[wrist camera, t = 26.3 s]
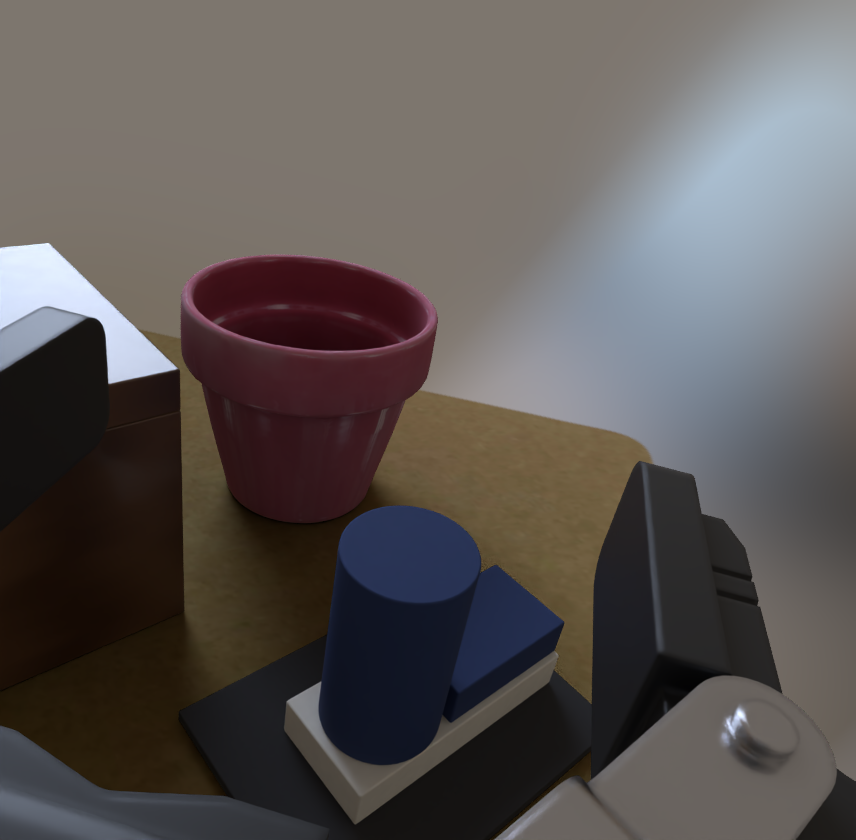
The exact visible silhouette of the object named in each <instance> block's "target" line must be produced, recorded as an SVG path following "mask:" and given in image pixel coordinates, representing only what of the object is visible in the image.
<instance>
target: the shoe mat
mask: <svg viewBox="0 0 856 840" xmlns="http://www.w3.org/2000/svg"><path fill="white" fill-rule="evenodd" d="M326 641H327V635H325V636H323V637H321V638H319V639H317V640H316V641H314V642H312V643H310V644H308V645H306V646H304V647H302V648H300V649H298V650H296V651H294V652H292V653H290V654H289V655H287V656H285V657H283V658H281V659H279V660H277V661H275V662H273V663H271V664H269V665H267V666H265V667H263V668H261V669H260V670H258V671H256V672H254V673H252V674H250V675H248V676H246V677H244V678H242V679H240V680H238V681H236V682H234V683H233V684H231V685H229V686H227V687H225V688H223V689H221V690H219V691H217V692H215V693H213V694H211V695H209V696H207V697H206V698H204V699H202V700H200V701H198V702H196V703H194V704H192V705H190V706H188V707H186V708H184V709H182V710H180V711H179V721H180V722H181V724H182V725H183V727H184V729H185V730H186V732H187V733H188V735H189V736H190V738H191V740H192V741H193V743H194V744H195V746H196V748H197V749H198V751H199V752H200V754H201V755H202V757H203V759H204V760H205V762H206V763H207V765H208V766H209V768H210V770H211V771H212V773H213V774H214V776H215V777H216V779H217V781H218V782H219V784H220V785H221V787H222V788H223V790H224V792H225V793H226V795H227V796H228V797H230V798H233V799H236V800H239V801H242V802H246V803H249V804H252V805H255V806H258V807H262V808H265V809H268V810H271V811H274V812H278V813H281V814H284V815H287V816H290V817H294V818H297V819H300V820H303V821H306V822H309V823H313V824H316V825H319V826H322V827H325V828H329V829H330V830H329V836H328V840H489V839H490V838H491V837H492V836H494V835H495V834H496V833H497V832H498V831H499V830H500V829H502V828H503V827H504V826H505V825H506V824H507V823H509V822H510V821H511V820H512V819H513V818H514V817H515V816H517V815H518V814H519V813H520V812H521V811H522V810H523V809H525V808H526V807H527V806H528V805H529V804H530V803H531V802H533V801H534V800H535V799H536V798H537V797H538V796H540V795H541V794H542V793H543V792H544V791H545V790H546V789H548V788H549V787H550V786H551V785H552V784H553V783H554V782H556V781H557V780H558V779H559V778H560V777H561V776H562V775H564V774H565V773H566V772H567V771H568V770H569V769H570V768H572V767H573V766H574V765H575V764H576V763H577V762H579V761H580V760H581V759H582V758H583V757H584V756H585V755H587V754H588V753H589V752H590V751H591V730H592V704H591V703H589V702H588V701H587V700H586V699H585V698H584V697H583V696H582V695H581V694H579V693H578V692H577V691H576V690H575V689H574V688H573V687H572V686H571V685H570V684H568V683H567V682H566V681H565V680H564V679H563V678H562V677H561V676H560V675H558V674H557V673H556V672H555V671H554V670H553V673H552V675H551V678H550V681H549V683H547V684H546V685H545V686H543V687H542V688H540V689H539V690H538V691H536V692H535V693H534V694H532V695H531V696H530V697H528V698H527V699H526V700H524V701H523V702H521V703H520V704H519V705H517V706H516V707H515V708H513V709H512V710H511V711H509V712H508V713H507V714H505V715H504V716H502V717H501V718H500V719H498V720H497V721H496V722H494V723H493V724H492V725H490V726H489V727H488V728H486V729H485V730H483V731H482V732H481V733H479V734H478V735H477V736H475V737H474V738H473V739H471V740H470V741H469V742H467V743H466V744H464V745H463V746H462V747H460V748H459V749H458V750H456V751H455V752H454V753H452V754H451V755H450V756H448V757H447V758H446V759H444V760H443V761H441V762H440V763H439V764H437V765H436V766H435V767H433V768H432V769H431V770H429V771H428V772H427V773H425V774H424V775H422V776H421V777H420V778H418V779H417V780H416V781H414V782H413V783H412V784H410V785H409V786H408V787H406V788H405V789H403V790H402V791H401V792H399V793H398V794H397V795H395V796H394V797H393V798H391V799H390V800H389V801H387V802H386V803H384V804H383V805H382V806H380V807H379V808H378V809H376V810H375V811H374V812H372V813H371V814H370V815H368V816H367V817H365V818H364V819H363V820H361V821H360V822H359V823H357V824H354V823H353V822H352V820H351V819H350V818H349V816H348V815H347V814H346V812H345V811H344V810H343V808H342V807H341V806H340V804H339V803H338V802H337V800H336V799H335V798H334V796H333V795H332V794H331V792H330V791H329V790H328V788H327V787H326V785H325V784H324V783H323V781H322V780H321V779H320V777H319V776H318V775H317V773H316V772H315V771H314V769H313V768H312V767H311V765H310V764H309V763H308V761H307V760H306V759H305V757H304V756H303V755H302V753H301V752H300V751H299V749H298V748H297V747H296V745H295V744H294V743H293V741H292V740H291V739H290V737H289V736H288V735H287V733H286V732H285V730H284V725H285V714H286V703H287V701H288V700H289V699H291V698H293V697H295V696H296V695H298V694H300V693H302V692H304V691H305V690H307V689H309V688H311V687H312V686H314V685H316V684H318V683H319V682H321V681H322V673H323V665H324V657H325V649H326Z"/></svg>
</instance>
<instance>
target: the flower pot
mask: <svg viewBox="0 0 856 840" xmlns="http://www.w3.org/2000/svg"><path fill="white" fill-rule="evenodd" d="M437 323H438V317H437V312H436V310H435V307H434V306H433V304H432V303H431V302H430V301H429V299H428V298H427V297H426V296H424V294H422V293H421V292H419V291H418V290H417V289H416V288H414V287H412V286H411V285H409V284H407V283H405V282H404V281H402V280H400V279H398V278H395V277H393V276H391V275H388V274H386V273H383V272H380V271H378V270H375V269H371V268H368V267H365V266H361V265H357V264H353V263H349V262H345V261H339V260H334V259H328V258H321V257H312V256H301V255H260V256H248V257H241V258H236V259H230V260H226V261H223V262H219V263H216V264H213V265H211V266H209V267H207V268H205V269H202V270H201V271H199V272H198V273H196V274H195V275H193V276H192V277H191V278H190V279H189V280H188V282H187V283H186V284H185V286H184V288H183V291H182V294H181V349H182V356H183V359H184V362H185V364H186V366H187V368H188V369H189V371H190V372H191V373H192V375H193V376H194V377H195V378H196V379H197V380H199V381H200V382H201V383H202V387H203V392H204V396H205V401H206V405H207V409H208V413H209V417H210V421H211V425H212V429H213V433H214V436H215V440H216V444H217V447H218V451H219V455H220V458H221V462H222V465H223V469H224V473H225V476H226V481H227V484H228V487H229V489H230V491H231V493H232V494H233V496H234V497H235V498H236V499H237V500H238V501H239V502H240V503H241V504H242V505H243V506H245V507H246V508H248V509H249V510H251V511H253V512H255V513H257V514H259V515H261V516H264V517H267V518H271V519H274V520H278V521H284V522H291V523H315V522H321V521H327V520H330V519H334V518H337V517H340V516H342V515H344V514H346V513H348V512H350V511H351V510H352V509H354V508H355V507H356V506H357V505H358V504H360V502H361V501H362V500H363V499H364V497H365V496H366V493H367V491H368V489H369V486H370V484H371V481H372V479H373V477H374V474H375V472H376V470H377V467H378V465H379V463H380V461H381V458H382V456H383V454H384V451H385V449H386V447H387V444H388V442H389V440H390V437H391V435H392V433H393V430H394V428H395V425H396V423H397V420H398V418H399V415H400V413H401V410H402V408H403V405H404V403H405V400H406V399H408V398H409V397H411V396H412V395H414V394H415V393H416V392H417V391H418V390H419V389H420V388H421V387H422V385H423V384H424V382H425V380H426V378H427V375H428V372H429V367H430V363H431V358H432V353H433V346H434V341H435V336H436V329H437Z"/></svg>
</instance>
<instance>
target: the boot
mask: <svg viewBox="0 0 856 840" xmlns="http://www.w3.org/2000/svg"><path fill="white" fill-rule="evenodd" d="M480 571H481V557H480V553H479V550H478V547H477V545H476V543H475V542H474V540H473V539H472V537H471V536H470V535H469V534H468V533H467V532H466V531H465V530H464V529H463V528H462V527H461V526H460V525H458V524H457V523H456V522H454V521H452V520H451V519H449V518H447V517H445V516H443V515H441V514H439V513H436V512H434V511H430V510H427V509H423V508H418V507H412V506H387V507H381V508H377V509H373V510H370V511H368V512H365V513H363V514H361V515H360V516H358V517H357V518H355V519H354V520H353V521H352V522H350V523H349V525H348V526H347V527H346V528H345V530H344V531H343V533H342V535H341V538H340V540H339V547H338V555H337V563H336V571H335V578H334V586H333V594H332V602H331V610H330V618H329V626H328V634H327V641H326V649H325V657H324V665H323V673H322V681H321V682H319V683H318V684H316V685H314V686H312V687H311V688H309V689H307V690H305V691H304V692H302V693H300V694H298V695H296V696H295V697H293V698H291V699H289V700H288V701H287V703H286V714H285V725H284V730H285V732H286V733H287V735H288V736H289V737H290V739H291V740H292V741H293V743H294V744H295V745H296V747H297V748H298V749H299V751H300V752H301V753H302V755H303V756H304V757H305V759H306V760H307V761H308V763H309V764H310V765H311V767H312V768H313V769H314V771H315V772H316V773H317V775H318V776H319V777H320V779H321V780H322V781H323V783H324V784H325V785H326V787H327V788H328V790H329V791H330V792H331V794H332V795H333V796H334V798H335V799H336V800H337V802H338V803H339V804H340V806H341V807H342V808H343V810H344V811H345V812H346V814H347V815H348V816H349V818H350V819H351V820H352V822H353V823H354V824H357V823H359V822H360V821H361V820H363V819H364V818H365V817H367V816H368V815H370V814H371V813H372V812H374V811H375V810H376V809H378V808H379V807H380V806H382V805H383V804H384V803H386V802H387V801H389V800H390V799H391V798H393V797H394V796H395V795H397V794H398V793H399V792H401V791H402V790H403V789H405V788H406V787H408V786H409V785H410V784H412V783H413V782H414V781H416V780H417V779H418V778H420V777H421V776H422V775H424V774H425V773H427V772H428V771H429V770H431V769H432V768H433V767H435V766H436V765H437V764H439V763H440V762H441V761H443V760H444V759H446V758H447V757H448V756H450V755H451V754H452V753H454V752H455V751H456V750H458V749H459V748H460V747H462V746H463V745H464V744H466V743H467V742H469V741H470V740H471V739H473V738H474V737H475V736H477V735H478V734H479V733H481V732H482V731H483V730H485V729H486V728H488V727H489V726H490V725H492V724H493V723H494V722H496V721H497V720H498V719H500V718H501V717H502V716H504V715H505V714H507V713H508V712H509V711H511V710H512V709H513V708H515V707H516V706H517V705H519V704H520V703H521V702H523V701H524V700H526V699H527V698H528V697H530V696H531V695H532V694H534V693H535V692H536V691H538V690H539V689H540V688H542V687H543V686H545V685H546V684H547V683H549V681H550V678H551V675H552V673H553V670H554V667H555V665H556V662H557V659H558V657H559V656H558V654H557V653H555V652H554V650H555V648H556V645H557V642H558V639H559V637H560V634H561V631H562V628H563V626H564V621H562V620H561V619H560V618H559V617H558V616H556V615H555V614H554V613H553V612H552V611H550V610H549V609H548V608H547V607H546V606H545V605H543V604H542V603H541V602H540V601H539V600H537V599H536V598H535V597H534V596H533V595H532V594H530V593H529V592H528V591H527V590H526V589H524V588H523V587H522V586H521V585H520V584H518V583H517V582H516V581H515V580H514V579H513V578H511V577H510V576H509V575H508V574H507V573H505V572H504V571H503V570H502V569H501V568H499V567H498V566H497V565H494V566H492V567H490V568H489V569H487V570H485V571H483V572H481V573H480Z"/></svg>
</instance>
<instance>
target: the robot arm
mask: <svg viewBox="0 0 856 840" xmlns="http://www.w3.org/2000/svg"><path fill="white" fill-rule="evenodd" d="M109 415H110V401H109V383H108V366H107V349H106V335H105V330H104V327H103V325H102V323H101V322H100V321H99V320H98V319H96V318H93V317H89V316H85V315H81V314H77V313H74V312H70V311H66V310H62V309H58V308H54V307H50V306H44V307H40V308H38V309H36V310H35V311H33V312H31V313H29V314H27V315H25V316H24V317H22V318H20V319H18V320H16V321H15V322H13V323H11V324H9V325H7V326H5V327H4V328H2V329H0V532H1V531H2V530H3V529H4V528H5V527H6V526H8V525H9V524H10V523H11V522H12V521H13V520H14V519H15V518H17V517H18V516H19V515H20V514H21V513H22V512H23V511H24V510H26V509H27V508H28V507H29V506H30V505H31V504H32V503H33V502H35V501H36V500H37V499H38V498H39V497H40V496H41V495H42V494H44V493H45V492H46V491H47V490H48V489H49V488H50V487H52V486H53V485H54V484H55V483H56V482H57V481H58V480H59V479H61V478H62V477H63V476H64V475H65V474H66V473H67V472H68V471H70V470H71V469H72V468H73V467H74V466H75V465H76V464H77V463H79V462H80V461H81V460H82V459H83V458H84V457H85V456H86V455H88V454H89V453H90V452H91V451H92V450H93V449H94V448H95V447H96V446H97V445H98V444H99V442H100V441H101V439H102V437H103V435H104V433H105V431H106V428H107V425H108V421H109ZM751 579H752V573H751V570H750V566H749V562H748V558H747V554H746V550H745V548H744V546H743V545H742V544H741V542H740V541H739V540H738V538H737V537H736V536H735V534H734V533H733V532H732V530H731V529H730V528H729V527H728V525H727V524H726V523H725V521H724V520H723V519H719V518H715V517H711V516H707V515H704V514H701V508H700V503H699V498H698V493H697V487H696V482H695V478H694V476H693V475H692V474H688V473H684V472H680V471H676V470H672V469H669V468H665V467H661V466H657V465H653V464H650V463H646V462H642V461H639V462H638V463H637V464H636V465H635V467H634V468H633V470H632V472H631V475H630V477H629V480H628V482H627V485H626V487H625V490H624V492H623V495H622V497H621V500H620V503H619V505H618V508H617V510H616V513H615V515H614V518H613V520H612V523H611V525H610V528H609V530H608V533H607V535H606V538H605V541H604V543H603V546H602V549H601V552H600V556H599V559H598V563H597V568H596V573H595V580H594V604H593V667H592V730H591V780H590V781H589V782H587V783H586V782H585V781H584V780H583V779H582V778H581V777H580V776H573V777H570V778H569V779H567V780H565V781H564V782H562V783H561V784H559V785H558V786H557V787H556V788H554V789H553V790H552V791H551V792H549V793H548V794H547V795H546V796H545V797H544V798H542V799H541V800H540V801H539V802H538V803H537V804H535V805H534V806H533V807H532V808H531V809H530V810H528V811H527V812H526V813H525V814H524V815H523V816H521V817H520V818H519V819H518V820H517V821H516V822H514V823H513V824H512V825H511V826H510V827H509V828H507V829H506V830H505V831H504V832H503V833H502V834H500V835H499V836H498V837H497V838H496V839H495V840H856V781H854V780H852V779H851V778H849V777H848V776H846V775H844V774H843V773H842V772H841V771H839V770H838V769H837V768H836V762H835V758H834V754H833V751H832V749H831V747H830V745H829V742H828V741H827V739H826V737H825V736H824V734H823V733H822V731H821V730H820V728H819V727H818V726H817V725H816V723H815V722H814V721H813V720H812V719H811V718H810V717H809V715H807V713H805V711H804V710H802V709H801V708H800V707H799V706H798V705H797V704H795V703H794V702H793V701H792V700H790V699H789V698H787V697H786V696H784V695H783V694H782V690H781V686H780V682H779V678H778V675H777V671H776V667H775V663H774V659H773V655H772V651H771V647H770V643H769V639H768V636H767V632H766V628H765V624H764V620H763V616H762V612H761V609H760V607H758V606H757V604H758V597H757V593H756V589H755V585H754V582H751ZM329 830H330V829H329V828H325V827H322V826H319V825H316V824H313V823H309V822H306V821H303V820H300V819H297V818H294V817H290V816H287V815H284V814H281V813H278V812H274V811H271V810H268V809H265V808H262V807H258V806H255V805H252V804H249V803H246V802H242V801H239V800H236V799H233V798H230V797H226V796H212V795H190V794H169V793H147V792H125V791H111V790H106V789H103V788H100V787H98V786H96V785H94V784H93V783H91V782H90V781H88V780H87V779H85V778H84V777H83V776H81V775H80V774H78V773H77V772H75V771H74V770H72V769H71V768H70V767H68V766H67V765H65V764H64V763H62V762H61V761H60V760H58V759H57V758H55V757H54V756H52V755H51V754H49V753H48V752H47V751H45V750H44V749H42V748H41V747H39V746H38V745H37V744H35V743H34V742H32V741H31V740H29V739H28V738H27V737H25V736H24V735H22V734H21V733H19V732H18V731H16V730H13V729H9V728H6V727H3V726H0V840H328V836H329Z"/></svg>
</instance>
